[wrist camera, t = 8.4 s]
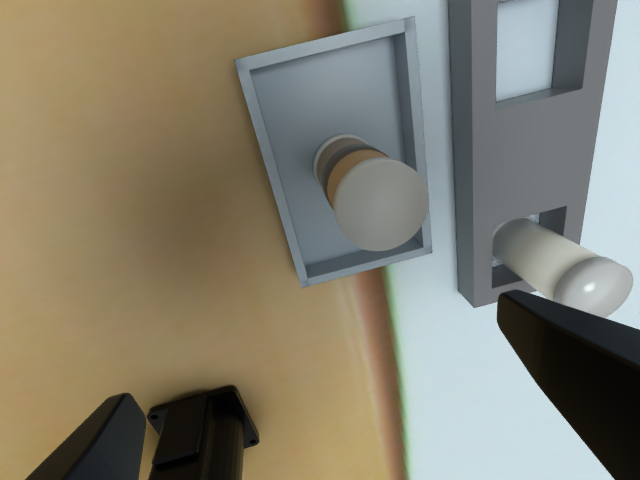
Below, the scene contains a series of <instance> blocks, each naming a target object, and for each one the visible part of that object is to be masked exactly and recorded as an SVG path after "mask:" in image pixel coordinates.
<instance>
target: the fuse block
mask: <svg viewBox="0 0 640 480" xmlns="http://www.w3.org/2000/svg"><path fill="white" fill-rule="evenodd" d="M505 1H509V0H448V5H449V34H450V63H451V91H452V120H453V148H454V177H455V206H456V234H457V263H458V291H459V292H460V293H461V294H462V295H463V297H464V298H465V299H466V300H467V301H468V302H469V303H470V304H471V305H472V306H473V308H477V307H480V306H484V305H487V304H491V303H495V302H498V296H499V294H500V293H502V292H506V291H509V290H513V289H518V290H521V291H524V292H527V293H531V292H534V291H537V290H536V289H535V288H533V287H532V286H531V285H529V284H528V283H527V282H526V281H524V280H523V279H522V278H520V277H519V276H518V275H517V274H515V273H514V272H513V271H511V270H510V269H509V268H508V267H506V266H505V265H501V266H498V267H494V268H492V249H493V225H496V224H500V223H504V222H508V221H511V220H515V219H519V218H522V217H526V216H530V215H534V214H537V213H540V225H542V226H544V227H546V228H548V229H550V230H552V231H553V232H555V233H557V234H559V235H561V236H563V237H565V238H567V239H569V240H570V241H572V242H574V243H576V244H578V245H580V239H581V232H582V226H583V219H584V213H585V206H586V200H587V194H588V187H589V181H590V174H591V168H592V162H593V155H594V149H595V142H596V136H597V129H598V123H599V117H600V110H601V104H602V97H603V91H604V85H605V78H606V72H607V65H608V59H609V52H610V46H611V40H612V33H613V27H614V20H615V14H616V8H617V1H618V0H560V4H559V15H558V26H557V37H556V48H555V59H554V70H553V81H552V88H550V89H546V90H542V91H538V92H534V93H530V94H526V95H522V96H518V97H514V98H510V99H506V100H503V101H499V102H496V55H497V6H498V3H501V2H505Z"/></svg>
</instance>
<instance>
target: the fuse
mask: <svg viewBox="0 0 640 480" xmlns="http://www.w3.org/2000/svg"><path fill="white" fill-rule="evenodd" d="M492 258H493V259H495V260H496V261H498V262H500V263H502V264H504V265H505V266H506V267H508V268H509V269H510V270H511V271H513V272H514V273H515V274H517V275H518V276H519V277H520V278H522V279H523V280H524V281H526V282H527V283H528V284H529V285H531V286H532V287H533V288H535V289H536V290H537V291H538V292H540V293H541V294H542V295H544V296H545V297H546V298H547V299H549V300H551V301H554V302H557V303H560V304H563V305H566V306H569V307H572V308H575V309H578V310H581V311H584V312H587V313H591V314H594V315H597V316H600V317H603V318H605V317H607V316H609V315H610V314H612V313H613V312H614V311H616V310H617V309H618V308H619V307H620V306H621V305H622V304H623V303H624V301H625V300H626V299H627V297H628V296H629V294H630V292H631V289H632V286H633V275H632V273H631V271H630V270H629V269H628V268H626V267H625V266H623V265H621V264H619V263H617V262H615V261H613V260H611V259H609V258H607V257H601V256H599V255H597V254H595V253H593V252H591V251H589V250H588V249H586V248H584V247H582V246H580V245H578V244H576V243H574V242H572V241H570V240H569V239H567V238H565V237H563V236H561V235H559V234H557V233H555V232H553V231H552V230H550V229H548V228H546V227H544V226H542V225H540V224H538V223H537V222H536V221H535V220H534V219H532V218H530V217H529V216H526V217H522V218H519V219H515V220H511V221H508V222H504V223H500V224H496V225H493V249H492Z"/></svg>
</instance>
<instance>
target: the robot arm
mask: <svg viewBox="0 0 640 480" xmlns="http://www.w3.org/2000/svg"><path fill="white" fill-rule="evenodd" d="M497 323H498V326H499V328H500V330H501V331H502V333H503V334H504V336H505V337H506V339H507V340H508V342H509V343H510V345H511V346H512V348H513V349H514V351H515V352H516V354H517V355H518V357H519V358H520V360H521V361H522V363H523V364H524V366H525V367H526V369H527V370H528V372H529V373H530V375H531V376H532V378H533V379H534V380H535V382H536V383H537V385H538V386H539V387H540V388H541V390H542V391H543V392H544V394H545V395H546V396H547V397H548V398H549V400H550V401H551V402H552V403H553V405H554V406H555V407H556V408H557V409H558V411H559V412H560V413H561V414H562V416H563V417H564V418H565V419H566V420H567V422H568V423H569V424H570V425H571V427H572V428H573V429H574V430H575V432H576V433H577V434H578V435H579V436H580V438H581V439H582V440H583V441H584V443H585V444H586V445H587V446H588V447H589V449H590V450H591V451H592V452H593V454H594V455H595V456H596V457H597V458H598V460H599V461H600V462H601V463H602V465H603V466H604V467H605V468H606V470H607V471H608V472H609V473H610V474H611V476H612V477H613V478H614V479H615V480H640V330H639V329H636V328H633V327H630V326H627V325H624V324H621V323H618V322H615V321H612V320H609V319H606V318H603V317H600V316H597V315H594V314H591V313H587V312H584V311H581V310H578V309H575V308H572V307H569V306H566V305H563V304H560V303H557V302H554V301H551V300H548V299H545V298H542V297H539V296H536V295H533V294H530V293H527V292H524V291H521V290H518V289H513V290H509V291H506V292H502V293H500V294H499V296H498V304H497ZM147 418H148V420H149V422H150V423H151V424H152V426H153V427H154V429H155V430H156V431H157V433H158V434H159V439H158V442H157V446H156V449H155V453H154V456H153V459H152V464H153V465H152V468H151V472H150V475H149V478H148V480H242V469H243V452H244V448H248V447H251V446H255V445H257V444H258V443H259V434H258V432H257V430H256V428H255V426H254V424H253V422H252V420H251V418H250V416H249V414H248V412H247V410H246V408H245V405H244V403H243V401H242V399H241V397H240V395H239V393H238V391H237V389H236V388H234V387H226V388H222V389H219V390H215V391H212V392H208V393H204V394H201V395H197V396H194V397H190V398H186V399H183V400H179V401H176V402H172V403H168V404H165V405H161V406H158V407H154V408H152V409H150V410H149V413H148V415H147ZM145 429H146V418H145V415H144V413H143V411H142V410H141V408H140V407H139V405H138V404H137V402H136V401H135V399H134V398H133V396H132V395H131V394H130V393H122V394H118V395H114V396H111V397H109V398H107V399H106V400H105V401H104V402H103V403H102V404H101V405H100V406H99V407H98V408H97V409H96V410H95V411H94V412H93V413H92V414H91V415H90V416H89V417H88V418H87V419H86V420H85V421H84V422H83V423H82V424H81V425H80V426H79V427H78V428H77V429H76V430H75V431H74V432H73V433H72V434H71V435H70V436H69V437H68V438H67V439H66V440H65V441H64V442H63V443H62V444H61V445H60V446H59V447H58V448H57V449H56V450H54V451H53V452H52V453H51V454H50V455H49V456H48V457H47V458H46V459H45V460H44V461H43V462H42V463H41V464H40V465H39V466H38V467H37V468H36V469H35V470H34V471H33V472H32V473H31V474H30V475H29V476H28V477H27V478H26V479H25V480H138V479H139V471H140V464H141V457H142V450H143V443H144V436H145Z"/></svg>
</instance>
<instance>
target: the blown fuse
mask: <svg viewBox="0 0 640 480" xmlns="http://www.w3.org/2000/svg"><path fill="white" fill-rule="evenodd" d="M313 174H314V177H315V179H316V181H317V183H318V185H319V187H320V188H321V189H322V191H323V192H324V194H325V197H326V199H327V200H328V202H329V204H330V206H331V208H332V209H333V210H334V214H335V218H336V220H337V222H338V224H339V226H340V228H341V230H342V232H343V234H344V235H345V237H346V238H347V239H348V240H349V241H350V242H351V243H353V244H354V245H356V246H357V247H359V248H362V249H365V250H369V251H385V250H390V249H393V248H396V247H398V246H400V245H402V244H404V243H405V242H407V241H408V240H409V239H411V238H412V237H413V236H414V235H415V234H416V233H417V231H418V230H419V229H420V227H421V226H422V224H423V222H424V220H425V218H426V215H427V212H428V207H429V194H428V190H427V186H426V184H425V182H424V180H423V179H422V177H421V176H420V175H419V174H418V173H417V172H416V171H415V170H414V169H412V168H411V167H409V166H407V165H406V164H404V163H402V162H400V161H398V160H396V159H393V158H390V157H389V156H387V155H386V154H385V153H383V152H381V151H380V150H378V149H376V148H375V147H373V146H371V145H370V144H369V143H368V142H366V141H365V140H363V139H362V138H360V137H358V136H356V135H354V134H349V133H341V134H336V135H333V136H331V137H329V138H328V139H326V140H325V141H324V142H323V143H322V144H321V145H320V146H319V148H318V149H317V151H316V153H315V155H314V159H313Z"/></svg>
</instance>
